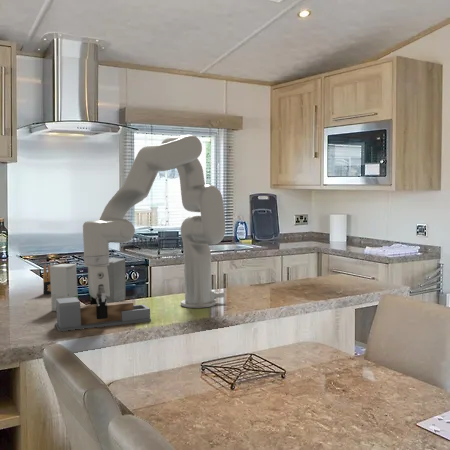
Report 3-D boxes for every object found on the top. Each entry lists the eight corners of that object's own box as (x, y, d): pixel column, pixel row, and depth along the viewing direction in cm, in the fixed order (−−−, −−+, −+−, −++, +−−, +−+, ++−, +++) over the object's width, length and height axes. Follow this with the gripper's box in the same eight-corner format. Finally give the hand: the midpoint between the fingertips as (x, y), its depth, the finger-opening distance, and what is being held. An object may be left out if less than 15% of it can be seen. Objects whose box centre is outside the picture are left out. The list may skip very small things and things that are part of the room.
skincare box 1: (67, 311, 191) (66, 266, 190) (50, 311, 193) (48, 266, 191) (78, 306, 199) (77, 263, 198) (61, 306, 201) (60, 263, 200)
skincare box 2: (111, 298, 212) (110, 257, 211) (127, 300, 209) (126, 258, 208) (98, 303, 204) (97, 260, 203) (115, 304, 202) (113, 261, 200)
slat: (130, 316, 180) (130, 300, 179) (133, 318, 177) (133, 302, 176) (70, 322, 172) (69, 306, 172) (72, 325, 169) (71, 309, 169)
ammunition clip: (43, 294, 223) (42, 265, 222) (43, 294, 224) (42, 264, 223) (71, 292, 226) (70, 263, 226) (70, 291, 228) (69, 262, 227)
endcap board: (143, 315, 184) (142, 290, 184) (151, 321, 176) (150, 295, 176) (55, 325, 173) (54, 298, 172) (59, 331, 165) (57, 304, 164)
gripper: (115, 263, 166) (117, 319, 168) (103, 256, 182) (105, 308, 183) (89, 265, 163) (92, 322, 165) (79, 258, 179) (81, 311, 180)
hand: (99, 315), depth 174 cm, fingers open, 9 cm apart
